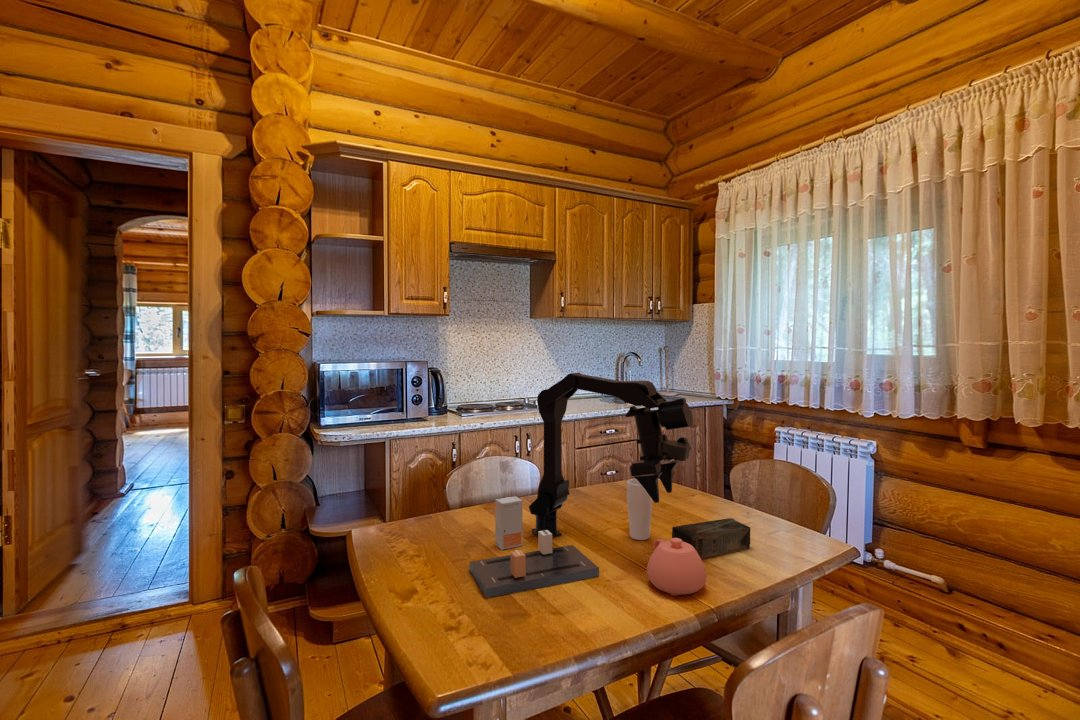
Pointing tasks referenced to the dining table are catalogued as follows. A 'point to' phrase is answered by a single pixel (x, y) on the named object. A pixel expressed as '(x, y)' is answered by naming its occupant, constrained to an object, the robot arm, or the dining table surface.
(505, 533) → the skincare box
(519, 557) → the orange fader
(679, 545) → the pink teapot
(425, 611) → the dining table surface
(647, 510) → the drinking glass
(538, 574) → the console
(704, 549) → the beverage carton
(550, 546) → the white fader
